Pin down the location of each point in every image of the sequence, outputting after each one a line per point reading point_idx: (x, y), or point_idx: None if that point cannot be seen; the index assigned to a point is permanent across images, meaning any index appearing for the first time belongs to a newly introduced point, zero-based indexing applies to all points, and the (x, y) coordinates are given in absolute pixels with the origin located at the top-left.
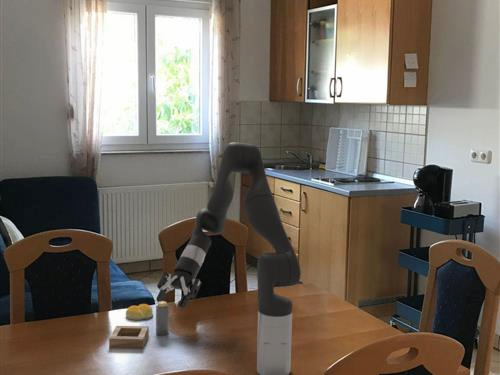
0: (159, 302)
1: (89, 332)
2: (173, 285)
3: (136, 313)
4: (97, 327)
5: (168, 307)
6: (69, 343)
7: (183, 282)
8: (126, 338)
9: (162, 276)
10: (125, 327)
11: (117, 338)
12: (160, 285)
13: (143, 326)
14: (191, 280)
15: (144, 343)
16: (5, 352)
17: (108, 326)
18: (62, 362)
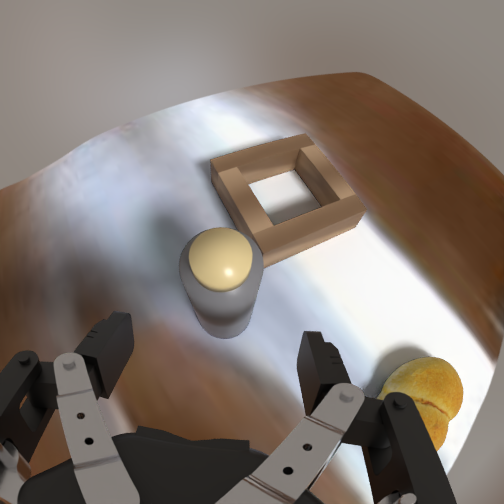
0: (243, 253)
1: (419, 212)
2: (237, 445)
3: (413, 369)
4: (434, 249)
5: (180, 275)
6: (392, 150)
7: (85, 445)
8: (261, 146)
9: (444, 478)
10: (331, 208)
11: (284, 138)
12: (385, 412)
13: (280, 242)
14: (23, 485)
15: (221, 196)
16: (422, 107)
17: (421, 271)
18: (323, 93)
